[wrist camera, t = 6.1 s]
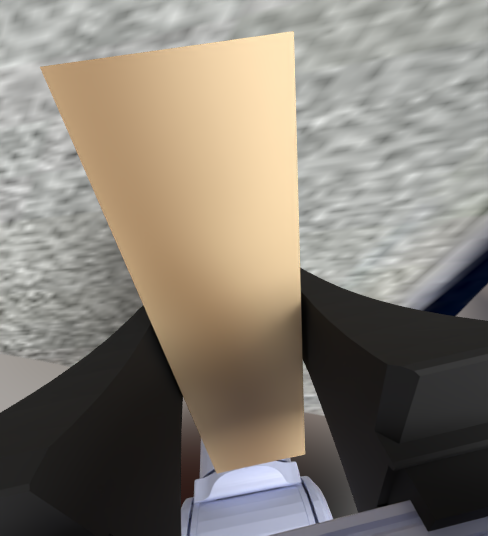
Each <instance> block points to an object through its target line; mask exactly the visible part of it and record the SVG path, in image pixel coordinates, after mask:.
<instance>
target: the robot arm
mask: <svg viewBox="0 0 488 536" xmlns="http://www.w3.org/2000/svg"><path fill="white" fill-rule="evenodd" d="M300 285H301V323H302V359H303V361H304V363H305V365H306V368H307V370H308V372H309V374H310V377H311V380H312V382H313V385H314V388H315V390H316V393H317V395H318V398H319V401H320V404H321V406H322V409H323V412H324V415H325V417H326V420H327V423H328V425H329V428H330V431H331V434H332V437H333V440H334V442H335V445H336V448H337V451H338V454H339V457H340V460H341V462H342V465H343V468H344V471H345V474H346V477H347V480H348V483H349V486H350V489H351V492H352V495H353V498H354V501H355V504H356V507H357V510H358V513H356V514H352V515H348V516H345V517H341V518H336V519H333V518H332V515H331V513H330V510H329V508H328V505H327V502H326V500H325V498H324V496H323V494H322V492H321V490H320V489H319V487H318V486H316V484H314V483H313V482H312V481H311V479H310V478H309V477H307V476H303V477H300V474H299V471H298V467H297V463H296V462H291V460H290V458H286V459H281V460H277V461H272V462H268V463H263V464H258V465H254V466H249V467H245V468H240V469H236V470H231V471H227V472H222V473H216V471H215V468H214V466H213V464H212V462H211V459H210V457H209V455H208V452H207V450H206V448H205V445H204V443H203V441H202V438H201V457H200V479H197V480H195V486H194V497H192V498H187V499H186V500H185V502H184V503H183V506H182V508H181V426H182V401H183V395H182V392H181V390H180V388H179V386H178V383H177V381H176V379H175V376H174V374H173V372H172V369H171V367H170V365H169V363H168V360H167V358H166V356H165V353H164V351H163V349H162V346H161V344H160V342H159V340H158V337H157V335H156V333H155V330H154V328H153V326H152V323H151V321H150V319H149V317H148V314H147V312H146V310H145V307H144V305H143V306H142V307H141V308H140V309H139V310H138V311H137V312H136V313H135V314H134V315H133V316H132V317H131V318H130V319H129V320H128V321H127V322H126V323H125V324H124V325H123V326H121V327H120V328H119V329H118V330H117V331H116V332H115V333H114V334H113V335H112V336H111V337H109V338H108V339H107V340H106V341H105V342H103V343H102V344H101V345H100V346H99V347H97V348H96V349H95V350H94V351H92V352H91V353H90V354H88V355H87V356H86V357H85V358H83V359H82V360H80V361H79V362H78V363H76V364H75V365H73V366H72V367H71V368H69V369H68V370H66V371H65V372H63V373H62V374H61V375H59V376H58V377H57V378H55V379H54V380H52V381H51V382H49V383H48V384H46V385H44V386H43V387H41V388H40V389H38V390H37V391H35V392H34V393H32V394H31V395H29V396H27V397H26V398H24V399H22V400H21V401H19V402H17V403H16V404H14V405H13V406H11V407H9V408H8V409H6V410H4V411H2V412H1V413H0V536H488V321H484V320H476V319H469V318H462V317H455V316H448V315H442V314H437V313H431V312H426V311H421V310H416V309H411V308H407V307H402V306H398V305H394V304H390V303H387V302H383V301H379V300H375V299H372V298H369V297H366V296H363V295H360V294H357V293H354V292H351V291H348V290H346V289H343V288H341V287H338V286H336V285H334V284H331V283H329V282H327V281H325V280H323V279H321V278H319V277H317V276H315V275H313V274H311V273H309V272H307V271H305V270H303V269H302V268H300Z"/></svg>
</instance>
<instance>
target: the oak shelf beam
mask: <svg viewBox="0 0 488 536" xmlns="http://www.w3.org/2000/svg"><path fill="white" fill-rule="evenodd" d="M40 68H41V70H42V73H43V75H44V77H45V80H46V82H47V84H48V87H49V89H50V91H51V93H52V96H53V98H54V100H55V103H56V105H57V107H58V110H59V112H60V114H61V116H62V119H63V121H64V123H65V126H66V128H67V130H68V133H69V135H70V137H71V139H72V142H73V144H74V146H75V149H76V151H77V153H78V156H79V158H80V160H81V162H82V165H83V167H84V169H85V172H86V174H87V176H88V179H89V181H90V183H91V185H92V188H93V190H94V192H95V195H96V197H97V199H98V202H99V204H100V206H101V208H102V211H103V213H104V215H105V218H106V220H107V222H108V225H109V227H110V229H111V231H112V234H113V236H114V238H115V241H116V243H117V245H118V248H119V250H120V252H121V254H122V257H123V259H124V261H125V264H126V266H127V268H128V271H129V273H130V275H131V277H132V280H133V282H134V284H135V287H136V289H137V291H138V294H139V296H140V298H141V300H142V303H143V305H144V307H145V310H146V312H147V314H148V317H149V319H150V321H151V323H152V326H153V328H154V330H155V333H156V335H157V337H158V340H159V342H160V344H161V346H162V349H163V351H164V353H165V356H166V358H167V360H168V363H169V365H170V367H171V369H172V372H173V374H174V376H175V379H176V381H177V383H178V386H179V388H180V390H181V392H182V395H183V397H184V399H185V402H186V404H187V406H188V409H189V411H190V413H191V415H192V418H193V420H194V422H195V425H196V427H197V429H198V431H199V434H200V436H201V438H202V441H203V443H204V445H205V448H206V450H207V452H208V455H209V457H210V459H211V462H212V464H213V466H214V468H215V471H216V473H222V472H227V471H231V470H236V469H240V468H245V467H249V466H254V465H258V464H263V463H268V462H272V461H277V460H281V459H286V458H290V457H295V456H300V455H304V454H305V437H304V398H303V360H302V323H301V285H300V248H299V210H298V172H297V135H296V97H295V59H294V31H292V32H285V33H278V34H271V35H264V36H257V37H250V38H242V39H235V40H228V41H221V42H214V43H207V44H200V45H193V46H185V47H178V48H171V49H164V50H157V51H150V52H143V53H136V54H128V55H121V56H114V57H107V58H100V59H93V60H86V61H79V62H72V63H64V64H57V65H50V66H43V67H40Z"/></svg>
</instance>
